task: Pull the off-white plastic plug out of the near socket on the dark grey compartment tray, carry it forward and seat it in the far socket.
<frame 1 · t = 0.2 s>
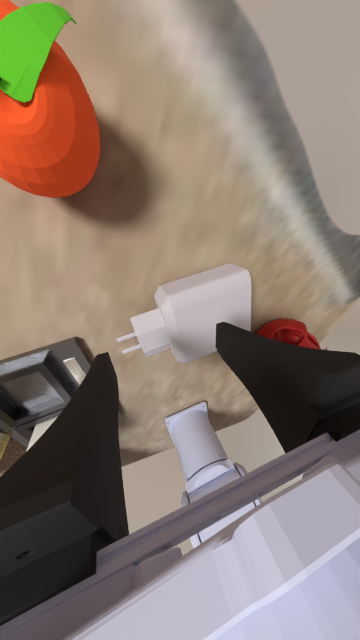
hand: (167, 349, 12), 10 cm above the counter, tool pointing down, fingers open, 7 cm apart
pomegranate: (266, 337, 31), on the counter
clementine: (53, 137, 13), on the counter
dark grey compartment tray: (54, 399, 22), on the counter
charger: (176, 313, 23), on the counter
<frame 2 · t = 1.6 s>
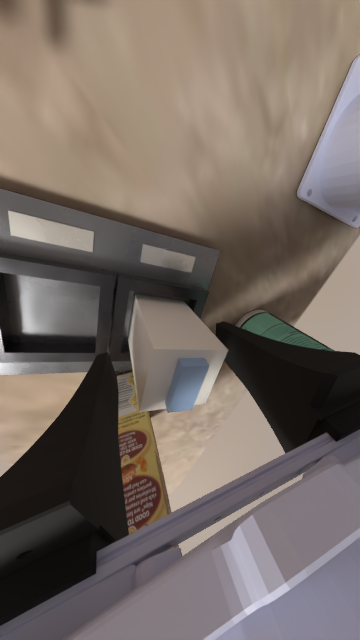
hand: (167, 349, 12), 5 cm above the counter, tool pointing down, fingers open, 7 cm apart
dark grey compartment tray: (111, 305, 14), on the counter
spray can: (250, 329, 21), on the counter
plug: (155, 319, 15), point 1 cm above the counter, touching dark grey compartment tray
candy box: (127, 400, 20), on the counter
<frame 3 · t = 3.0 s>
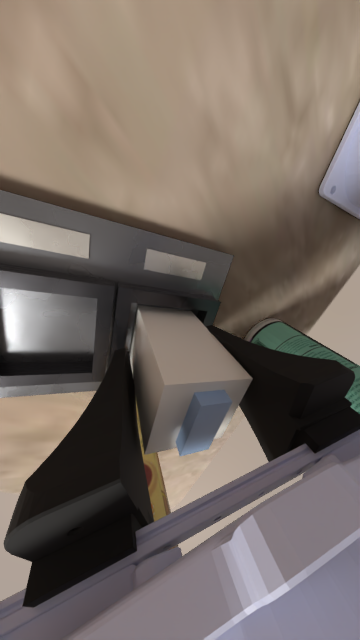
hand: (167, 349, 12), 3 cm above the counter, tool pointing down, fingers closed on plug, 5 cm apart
dark grey compartment tray: (111, 318, 13), on the counter
spray can: (261, 339, 19), on the counter
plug: (160, 332, 13), point 1 cm above the counter, touching gripper, dark grey compartment tray
candy box: (128, 417, 18), on the counter
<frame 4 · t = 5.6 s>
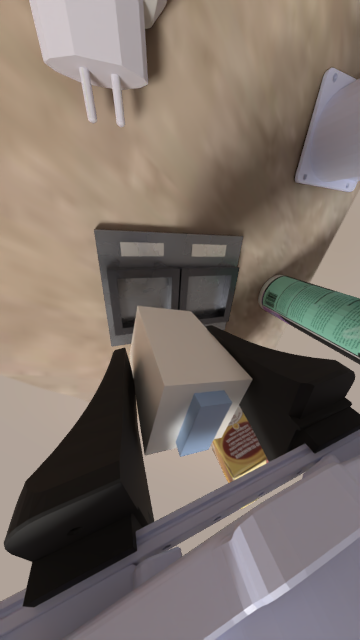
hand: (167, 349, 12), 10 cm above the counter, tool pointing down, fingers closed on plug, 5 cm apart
dark grey compartment tray: (173, 290, 21), on the counter
spray can: (272, 292, 26), on the counter
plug: (160, 332, 13), point 8 cm above the counter, touching gripper
candy box: (187, 360, 27), on the counter
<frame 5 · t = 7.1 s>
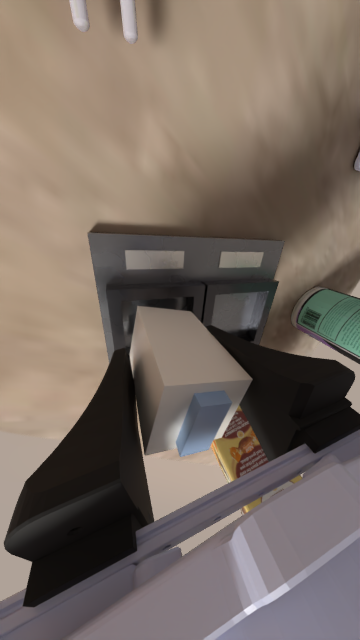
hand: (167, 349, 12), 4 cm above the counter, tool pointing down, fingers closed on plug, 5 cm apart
dark grey compartment tray: (192, 310, 16), on the counter
spray can: (307, 307, 22), on the counter
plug: (160, 333, 13), point 2 cm above the counter, touching gripper
candy box: (203, 388, 22), on the counter
when the fingers open (3 cm above the counter, at t = 8.3 s): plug stays where it is, resting on dark grey compartment tray.
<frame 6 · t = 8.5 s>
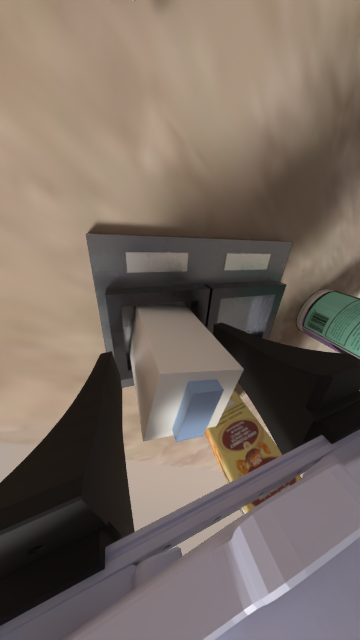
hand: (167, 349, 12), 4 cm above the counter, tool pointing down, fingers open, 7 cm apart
dark grey compartment tray: (196, 314, 15), on the counter
spray can: (313, 310, 21), on the counter
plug: (158, 328, 14), point 1 cm above the counter, touching dark grey compartment tray
candy box: (206, 394, 22), on the counter
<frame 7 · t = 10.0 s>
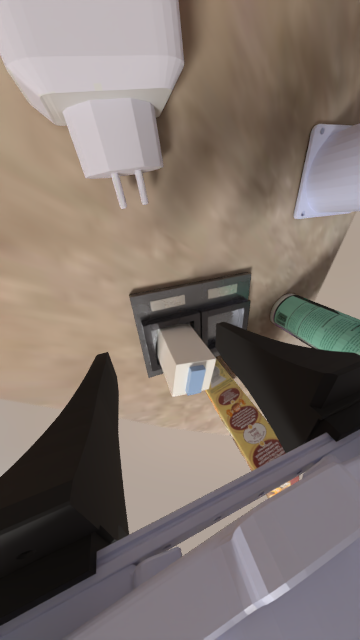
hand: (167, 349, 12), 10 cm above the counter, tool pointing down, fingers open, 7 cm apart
dark grey compartment tray: (195, 325, 24), on the counter
spray can: (283, 309, 29), on the counter
charger: (98, 81, 12), on the counter
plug: (172, 338, 23), point 1 cm above the counter, touching dark grey compartment tray
candy box: (211, 376, 31), on the counter
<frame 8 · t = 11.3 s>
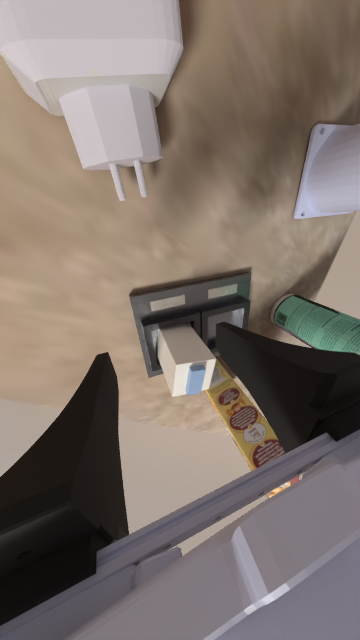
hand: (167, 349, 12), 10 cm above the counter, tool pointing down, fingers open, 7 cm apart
dark grey compartment tray: (195, 325, 24), on the counter
spray can: (283, 309, 29), on the counter
charger: (95, 70, 12), on the counter
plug: (172, 338, 23), point 1 cm above the counter, touching dark grey compartment tray
candy box: (211, 376, 31), on the counter
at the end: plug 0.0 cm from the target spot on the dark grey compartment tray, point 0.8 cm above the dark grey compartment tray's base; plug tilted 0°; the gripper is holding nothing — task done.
